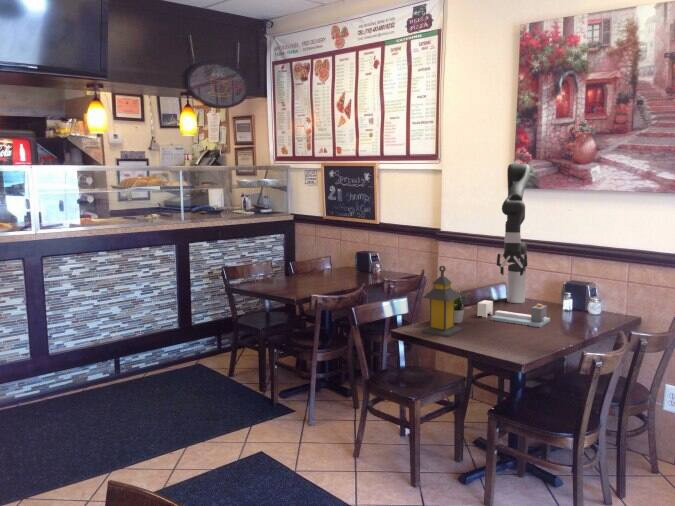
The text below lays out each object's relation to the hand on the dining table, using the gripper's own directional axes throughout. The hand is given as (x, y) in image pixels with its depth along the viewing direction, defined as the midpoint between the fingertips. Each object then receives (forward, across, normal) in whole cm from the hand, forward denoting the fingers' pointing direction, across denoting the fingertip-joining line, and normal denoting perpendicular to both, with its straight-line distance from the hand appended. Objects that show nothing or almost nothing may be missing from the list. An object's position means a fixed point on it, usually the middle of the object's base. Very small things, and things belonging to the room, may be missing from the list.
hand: (511, 275), depth 292 cm
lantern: (+24, +28, +32) cm, 49 cm away
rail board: (+22, -5, +2) cm, 22 cm away
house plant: (+23, +23, +14) cm, 36 cm away
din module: (+21, +12, -3) cm, 25 cm away
